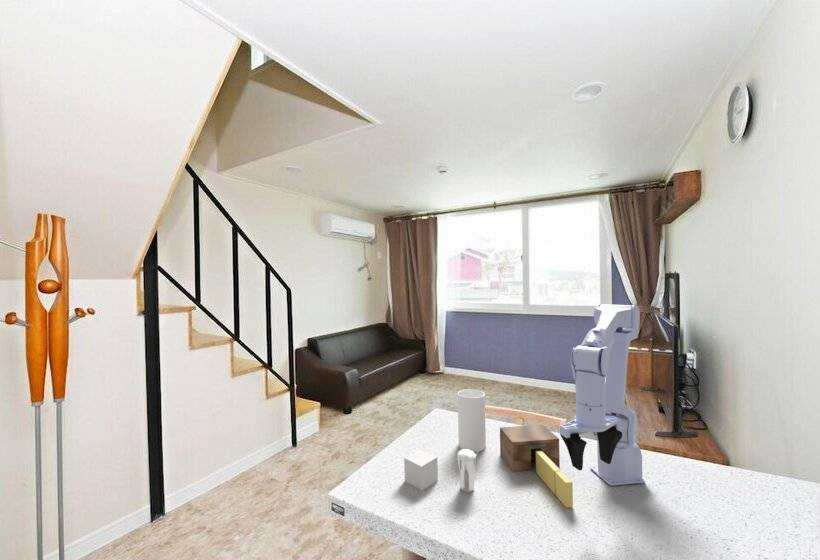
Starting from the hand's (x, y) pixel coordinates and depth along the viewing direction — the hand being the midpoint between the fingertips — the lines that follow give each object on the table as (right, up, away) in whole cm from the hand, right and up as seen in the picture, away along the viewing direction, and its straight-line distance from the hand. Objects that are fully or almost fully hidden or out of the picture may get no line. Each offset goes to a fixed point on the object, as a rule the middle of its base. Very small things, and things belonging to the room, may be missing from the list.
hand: (591, 464), depth 74 cm
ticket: (-5, -10, +9) cm, 14 cm away
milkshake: (-25, -11, +9) cm, 29 cm away
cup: (-20, -11, +31) cm, 39 cm away
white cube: (-36, -11, +13) cm, 40 cm away
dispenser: (-6, -11, +21) cm, 25 cm away
